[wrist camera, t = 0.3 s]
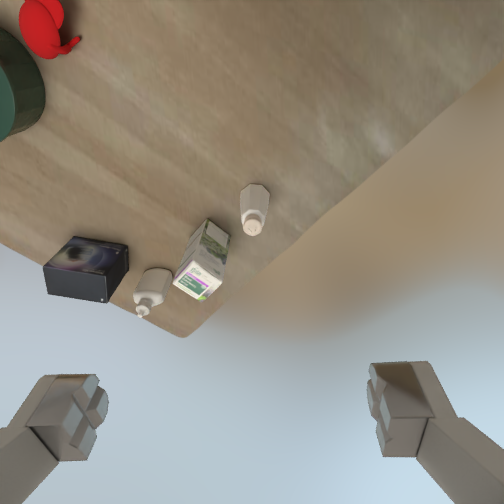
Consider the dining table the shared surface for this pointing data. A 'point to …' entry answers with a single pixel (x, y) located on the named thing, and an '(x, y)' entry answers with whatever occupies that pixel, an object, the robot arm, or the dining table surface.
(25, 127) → the pot
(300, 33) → the dining table surface
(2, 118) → the lid
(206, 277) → the syrup box
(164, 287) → the eye dropper bottle
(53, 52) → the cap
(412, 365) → the robot arm
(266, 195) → the salt shaker
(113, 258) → the small box
